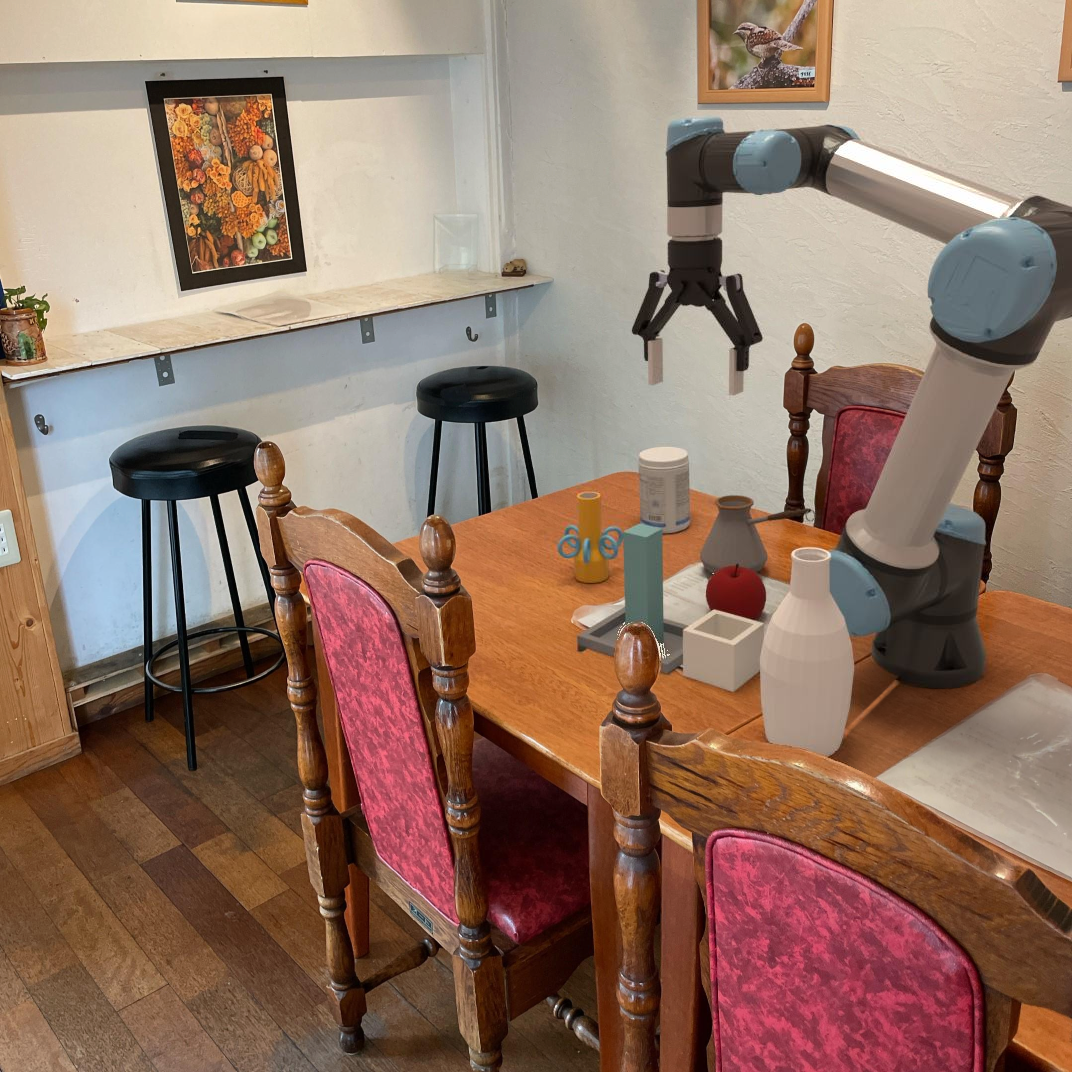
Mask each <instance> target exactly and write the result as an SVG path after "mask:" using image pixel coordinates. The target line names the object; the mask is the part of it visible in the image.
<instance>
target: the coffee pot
mask: <svg viewBox="0 0 1072 1072" xmlns="http://www.w3.org/2000/svg"><path fill="white" fill-rule="evenodd" d="M714 501H715V502H714V504H715V506H716V507H717V510H718V513H717V516H716V518H715V520H714V523H713V524H712V527H711V528H710V531H709V533H708V535H707V538H706V540H705V542H704V544H703V546H702V548H701V550H700V554H699V558H700V560H701V563H702V565H703V566H704V567H705V569H707V571H709V572H710V573H711V572H712V573H714V574H715V573H716V572H717V571H718V570H720V569H722V568H724V567H727V566H733V565H734V566H736V564H738V565H739V567H745V568H748V569H750V570H752V571H754V572H756V573H758V572H759V571H760V570H762V569H763V568H764V567H765V565H766V564H767V561H768V552H767V551H766V548H765V545H764V543H763V541H762V539H761V537H760V533H759V531H758V529H757V527H756V524H759V523H763V522H769V521H770V522H771V521H778V520H786V519H790V518H793V517H796V516H797V517H801V516H802V515H805V519H806V521H808V522H813V521H814V520H815V519H816V512H815V511H814V510H813V509H811V508H803V509H801V508H796V510H784V511H780V512H777V513H773V514H769V515H767V516H760V517H755V518H754V517H753V518H752V515H751V513H750V511H751V509H752V508H751V507H752V506H754V503H755V502H754V500H753V499H752V498H751V497H749V496H746V495H739V494H738V495H737V494H735V495H734V494H731V495H724V496H721V497H718V498H716V499H715V500H714ZM811 512H812V513H813V518H812V520H810V519H808V515H807V514H809V513H811ZM712 573H711V574H712Z"/></svg>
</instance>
